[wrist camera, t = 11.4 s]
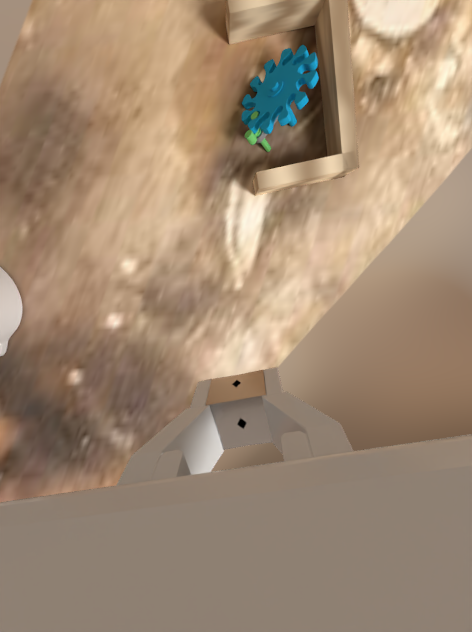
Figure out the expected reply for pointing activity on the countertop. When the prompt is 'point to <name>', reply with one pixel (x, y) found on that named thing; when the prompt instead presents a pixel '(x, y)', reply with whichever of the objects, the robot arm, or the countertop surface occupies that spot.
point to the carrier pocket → (335, 80)
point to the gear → (278, 94)
